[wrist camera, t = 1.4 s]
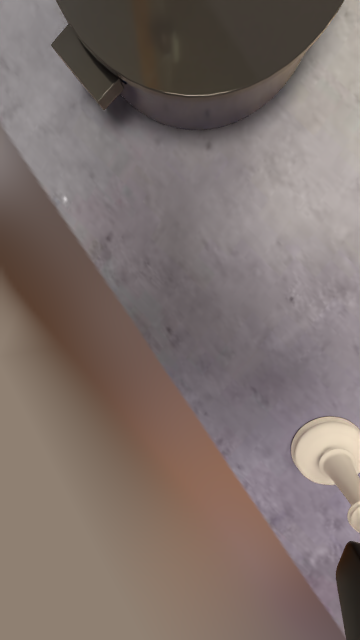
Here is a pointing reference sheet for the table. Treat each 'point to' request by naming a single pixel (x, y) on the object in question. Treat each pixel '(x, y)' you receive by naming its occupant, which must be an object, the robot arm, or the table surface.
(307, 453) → the chess piece
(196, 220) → the table surface
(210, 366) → the table surface
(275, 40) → the pot
